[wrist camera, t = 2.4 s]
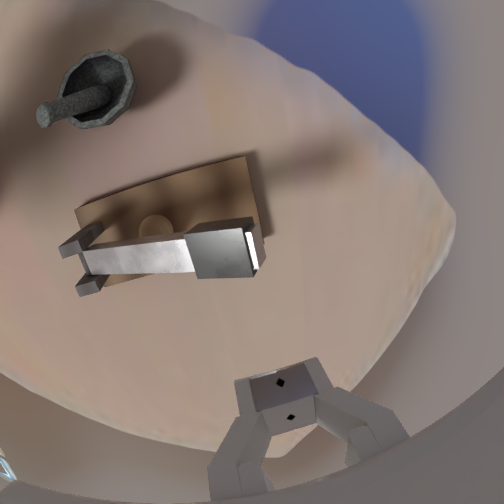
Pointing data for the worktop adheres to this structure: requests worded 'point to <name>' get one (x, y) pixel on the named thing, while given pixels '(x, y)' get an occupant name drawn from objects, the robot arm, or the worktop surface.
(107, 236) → the base
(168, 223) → the smooth brown ball
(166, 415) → the worktop surface
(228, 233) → the lever
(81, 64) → the mortar and pestle
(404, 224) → the worktop surface
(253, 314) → the worktop surface
